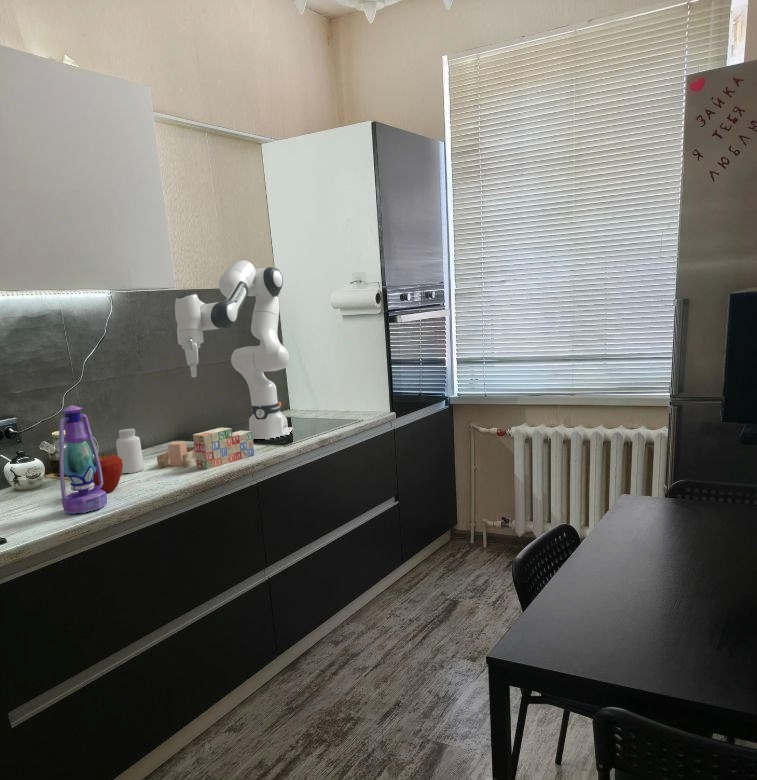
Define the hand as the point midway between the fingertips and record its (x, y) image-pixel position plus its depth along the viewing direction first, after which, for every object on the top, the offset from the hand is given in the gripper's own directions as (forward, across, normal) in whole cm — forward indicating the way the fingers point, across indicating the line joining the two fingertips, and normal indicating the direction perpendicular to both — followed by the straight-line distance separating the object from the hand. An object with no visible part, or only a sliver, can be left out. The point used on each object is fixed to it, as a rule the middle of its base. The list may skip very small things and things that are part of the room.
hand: (194, 377), depth 219 cm
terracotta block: (+31, +3, +8) cm, 32 cm away
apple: (+34, -21, +30) cm, 50 cm away
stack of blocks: (+32, -3, -8) cm, 33 cm away
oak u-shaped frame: (+31, +5, +7) cm, 32 cm away
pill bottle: (+32, +3, +24) cm, 40 cm away
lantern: (+36, -38, +33) cm, 62 cm away
